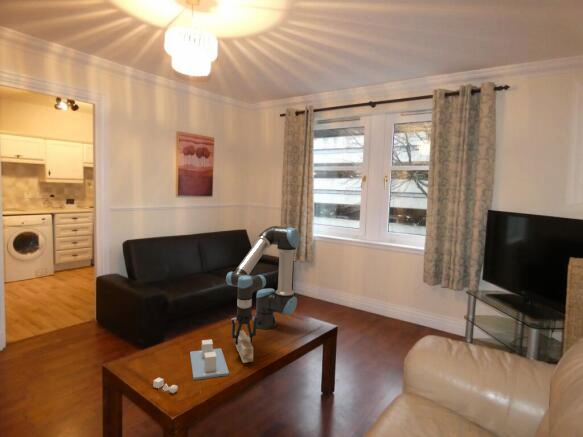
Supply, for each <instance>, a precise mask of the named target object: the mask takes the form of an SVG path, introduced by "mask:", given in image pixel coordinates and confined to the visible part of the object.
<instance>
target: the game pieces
mask: <svg viewBox="0 0 583 437" xmlns="http://www.w3.org/2000/svg"><path fill="white" fill-rule="evenodd" d="M164 380H165V379H164V378H161V377H157V378H155V379H153V383H152V384H153V385H152V386H153V388H156V389H157V388H158V389H160V388H162V389H163V390H164V391H163V390H162V391H163V392H167V391H169V392H170V393H171V394H173V395H174V394H175V393H177V391H178V388H179V386H178V385H176V384H172V385H171V386H168V384H167V383H164Z"/></svg>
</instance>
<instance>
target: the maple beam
mask: <svg viewBox="0 0 583 437" xmlns="http://www.w3.org/2000/svg"><path fill="white" fill-rule="evenodd" d="M236 331H237V330H235V334H236ZM239 339H240V340H239V351H237V352H238V354H239V356H240V359H241V362H242V363H243V364H246V363H253V362H254V346H253V345H252V343H251V342H250V341H249V339H248V335H247V332H246V331H245V330H244V329H241V330H240V333H239ZM234 345H235V348H237V345H236V344H235V343H234Z"/></svg>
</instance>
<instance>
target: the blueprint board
mask: <svg viewBox="0 0 583 437" xmlns="http://www.w3.org/2000/svg"><path fill="white" fill-rule="evenodd" d="M189 358H190V364H191V371H192V380H193V381H197V380H204V379H205V380H206V379H212V378H220V376H221V377H226V376H230V372H229V368H228V366H227V363H226V359H225V356H224V353H223V351H222V348H220V347H219V348H214V343H213V339H204V340H203V339H202V340H201V350H193V351H190V352H189Z"/></svg>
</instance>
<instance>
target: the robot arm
mask: <svg viewBox="0 0 583 437" xmlns="http://www.w3.org/2000/svg"><path fill="white" fill-rule="evenodd" d="M255 240H256V242H255V243H254V244H253V245H252V247H251V248H250V250H249V251H248V253H247V254H246V256H245V257H244V258H243V260H241V262H240V264H239V265H238V267H236V268H235V271H229V272H227V274H226V276H225V282H226V284H227V285H229V286H232V287H237V298H236V299H237V300H236V303H237V304H236V305H237V307H236V316H235V317H232V318H230V321H231V338H232V339H234V345H235V344H236V345H237V347H236V351H237V352H238V351H239V340H240V339H239V333H240V330H242V329H241V328H242V326H243V325H246V326H247V331H248V335H247V337H248V339H249V341H250V342H251V344H252V343H253V338H254V337H255V336H256V335H257V329H260V330H271V329H274V328H275V327H276V326H277V319H276V316H275V313H279V314H283V315H287V316H289V315H292V314H293V313H294V312H295V310H296V308H297V305H298V298H297V296H295V291H293V271H294V270H293V267H294V252H295V251H296V250H297V248H298V247H299V245H300V243H301V235H300V232H299V230H298V228H295V227H290V226H278V225H273V226H269V227H267V228H266V229H264V230H263V231H262V232H261V233H260V234H258V236H257V238H256V239H255ZM273 245H275V246H276V249H277V250H278V252H279V255H278V256H279V259H278V260H279V261H278V279H277V280H278V281H277V282H278V283H277V289H276V290H275V289H274V288H265V287H266V284H267V279H266V278H265V276H264V275H262V274H257V275H250V274H251V272H252V270H253V269H254V267H255V266H256V265H257V263H258V262H259V260H260V259H261V258H262V256H263V254H264V253H265V251H267V249H269V248H271V246H273ZM255 292H256V297H255V298H256V299H255V300H256V301H255V307H256V308H255V314H254V316H253V314H252V313H253V311H252V310H253V307H252V305H253V293H255ZM251 320H252V328H251V324H250V322H251ZM236 322H238V323H237V328H236ZM235 331H236V334H235ZM236 345H235V346H236Z"/></svg>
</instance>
